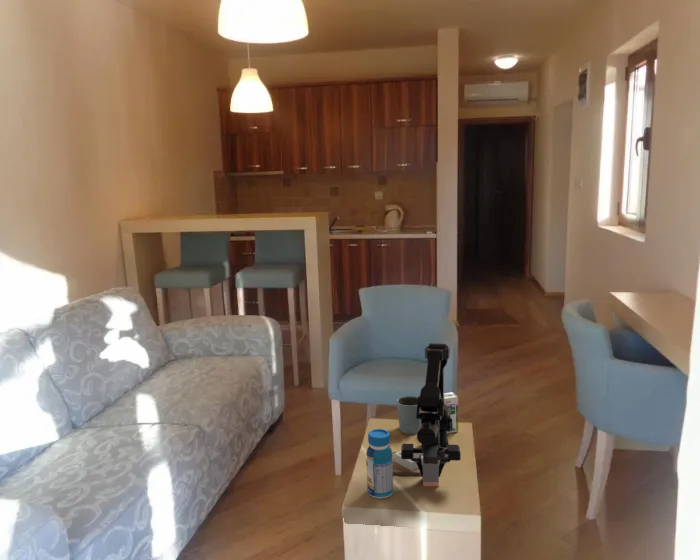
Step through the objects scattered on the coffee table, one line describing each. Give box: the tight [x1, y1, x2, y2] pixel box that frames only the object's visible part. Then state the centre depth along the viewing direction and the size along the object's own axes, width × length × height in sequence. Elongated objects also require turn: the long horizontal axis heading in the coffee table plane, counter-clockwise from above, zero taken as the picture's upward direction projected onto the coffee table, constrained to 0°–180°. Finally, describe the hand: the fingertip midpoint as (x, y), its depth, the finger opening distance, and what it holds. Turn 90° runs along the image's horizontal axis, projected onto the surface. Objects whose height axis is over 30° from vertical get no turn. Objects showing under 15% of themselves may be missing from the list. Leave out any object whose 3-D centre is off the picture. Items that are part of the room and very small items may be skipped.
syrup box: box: [444, 391, 459, 434], centre depth 219 cm, size 6×6×14 cm
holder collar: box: [394, 445, 423, 471], centre depth 194 cm, size 9×9×3 cm
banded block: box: [422, 462, 440, 487], centre depth 182 cm, size 5×5×8 cm
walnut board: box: [392, 451, 423, 476], centre depth 194 cm, size 14×14×1 cm
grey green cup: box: [396, 395, 423, 435], centre depth 221 cm, size 10×10×12 cm
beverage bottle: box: [365, 428, 394, 499], centre depth 176 cm, size 8×8×20 cm
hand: (430, 476), depth 183 cm, fingers closed on banded block, 5 cm apart
